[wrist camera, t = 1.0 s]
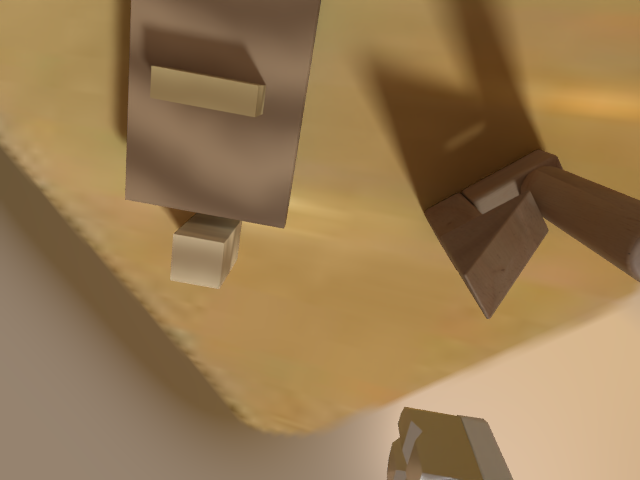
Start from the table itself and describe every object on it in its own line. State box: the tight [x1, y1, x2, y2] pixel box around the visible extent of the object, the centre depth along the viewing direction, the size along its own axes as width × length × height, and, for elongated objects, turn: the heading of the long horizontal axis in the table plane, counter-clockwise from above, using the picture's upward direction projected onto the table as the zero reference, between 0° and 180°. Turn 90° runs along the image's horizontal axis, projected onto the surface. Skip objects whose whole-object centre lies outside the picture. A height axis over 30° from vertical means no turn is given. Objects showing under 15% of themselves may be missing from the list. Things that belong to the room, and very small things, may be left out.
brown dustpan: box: [424, 150, 640, 319], centre depth 31 cm, size 4×11×18 cm, turn 121°
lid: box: [125, 0, 321, 228], centre depth 31 cm, size 19×13×4 cm
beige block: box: [170, 213, 242, 289], centre depth 38 cm, size 4×4×6 cm
